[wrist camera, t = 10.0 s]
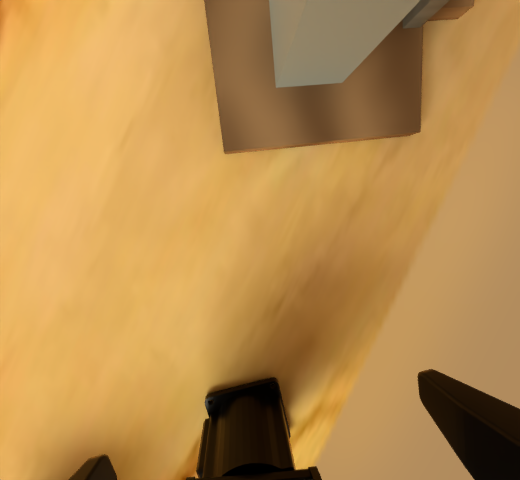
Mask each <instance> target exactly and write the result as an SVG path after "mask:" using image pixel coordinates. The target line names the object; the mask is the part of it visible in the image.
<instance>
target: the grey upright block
mask: <svg viewBox="0 0 520 480" xmlns="http://www.w3.org/2000/svg"><path fill="white" fill-rule="evenodd" d="M419 1H420V0H269V7H270V20H271V32H272V45H273V58H274V71H275V83H276V88H279V87H293V86H306V85H319V84H333V83H343V81H344V80H345V79H346V78H347V77H348V76H349V75H350V74H351V73H352V72H353V71H354V70H355V69H356V68H357V67H358V66H359V65H360V64H361V62H362V61H363V60H364V59H365V58H366V57H367V56H368V55H369V54H370V53H371V52H372V51H373V50H374V49H375V48H376V47H377V46H378V45H379V44H380V42H381V41H382V40H383V39H384V38H385V37H386V36H387V35H388V34H389V33H390V32H391V31H392V30H393V29H394V28H395V27H396V26H397V25H398V23H399V22H400V21H401V20H402V19H403V18H404V17H405V16H406V15H407V14H408V13H409V12H410V11H411V10H412V9H413V8H414V7H415V6H416V4H417V3H418V2H419Z"/></svg>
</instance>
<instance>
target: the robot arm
mask: <svg viewBox="0 0 520 480" xmlns="http://www.w3.org/2000/svg"><path fill="white" fill-rule="evenodd" d="M271 384H274V385H271ZM418 386H419V395H420V399H421V401H422V403H423V405H424V407H425V408H426V410H427V411H428V413H429V414H430V416H431V417H432V418H433V420H434V422H435V423H436V425H437V426H438V428H439V429H440V431H441V432H442V434H443V435H444V437H445V438H446V439H447V441H448V443H449V444H450V446H451V447H452V449H453V450H454V452H455V453H456V455H457V456H458V457H459V459H460V460H461V462H462V463H463V465H464V466H465V468H466V469H467V470H468V472H469V473H470V474H471V475H472V477H473V478H474V479H475V480H520V409H519V408H517V407H514V406H512V405H510V404H508V403H506V402H503V401H501V400H499V399H497V398H495V397H493V396H490V395H488V394H486V393H484V392H482V391H479V390H477V389H475V388H473V387H471V386H469V385H466V384H464V383H462V382H460V381H458V380H455V379H453V378H451V377H449V376H447V375H445V374H443V373H440V372H438V371H436V370H433V369H429V370H425V371H422V372H419V373H418ZM210 400H212V401H210ZM205 406H206V409H207V412H208V415H209V418H208V419H205V421H204V424H203V430H202V437H201V444H200V450H199V457H198V463H197V470H196V472H197V475H198V478H195V477H187V478H186V480H322V479H321V476H320V474H319V472H318V469H317V467H316V466H315V467H308V469H300V470H296V469H295V464H294V459H293V454H292V449H291V444H290V431H289V427H288V422H287V418H286V414H285V409H284V405H283V401H282V397H281V392H280V388H279V384H278V380H277V379H276V378H269V379H265V380H261V381H257V382H253V383H249V384H246V385H242V386H238V387H234V388H230V389H226V390H222V391H218V392H214V393H210V394H208V395H207V396H206V398H205ZM69 480H117V476H116V473H115V471H114V468H113V466H112V464H111V462H110V459H109V457H108V456H107V455H105V454H103V455H99V456H95V457H92V458H90V459H88V460H87V461H86V462H85V463H84V464H83V465H82V466H81V467H80V468H79V469H78V471H77V472H76V473H75V474H74V475H73V476H72V477H71V478H70V479H69Z"/></svg>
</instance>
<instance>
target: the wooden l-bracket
mask: <svg viewBox="0 0 520 480" xmlns="http://www.w3.org/2000/svg"><path fill="white" fill-rule="evenodd" d="M204 2H205V9H206V17H207V25H208V32H209V40H210V48H211V55H212V63H213V71H214V78H215V86H216V93H217V101H218V109H219V116H220V124H221V132H222V139H223V147H224V153H225V154H231V153H241V152H251V151H261V150H271V149H281V148H291V147H301V146H311V145H321V144H331V143H341V142H351V141H361V140H371V139H381V138H391V137H401V136H410V135H413V134H416V133H419V132H420V128H421V85H422V42H423V24H424V23H425V22H426V21H433V20H447V19H458V18H459V17H460V16H462V15H463V14H464V13H466V12H467V11H468V10H469V9H471V8H472V7H473V6H474V0H420V1H419V2H418V3H417V4H416V6H415V7H414V8H413V9H412V10H411V11H410V12H409V13H408V14H407V15H406V16H405V17H404V18H403V19H402V20H401V21H400V22H399V23H398V25H397V26H396V27H395V28H394V29H393V30H392V31H391V32H390V33H389V34H388V35H387V36H386V37H385V38H384V39H383V40H382V41H381V42H380V44H379V45H378V46H377V47H376V48H375V49H374V50H373V51H372V52H371V53H370V54H369V55H368V56H367V57H366V58H365V59H364V60H363V61H362V62H361V64H360V65H359V66H358V67H357V68H356V69H355V70H354V71H353V72H352V73H351V74H350V75H349V76H348V77H347V78H346V79H345V80H344V81H343V83H333V84H319V85H306V86H293V87H279V88H276V83H275V71H274V58H273V45H272V32H271V20H270V7H269V0H204Z"/></svg>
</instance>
